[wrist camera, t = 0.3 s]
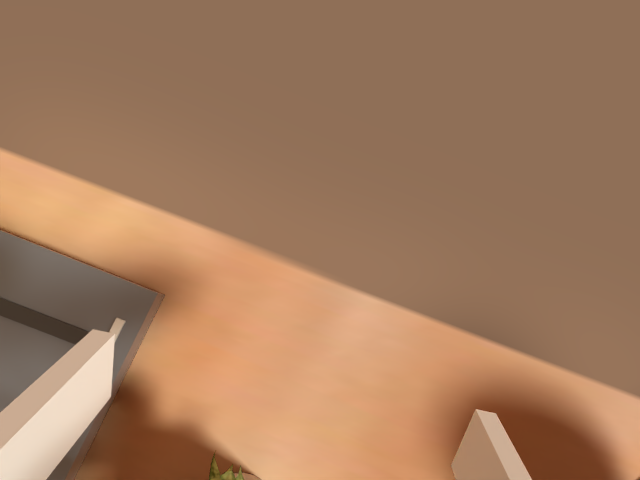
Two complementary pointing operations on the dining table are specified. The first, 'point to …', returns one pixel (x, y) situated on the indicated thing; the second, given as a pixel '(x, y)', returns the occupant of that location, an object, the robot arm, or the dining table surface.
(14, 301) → the mixing board
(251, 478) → the house plant
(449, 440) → the dining table surface
